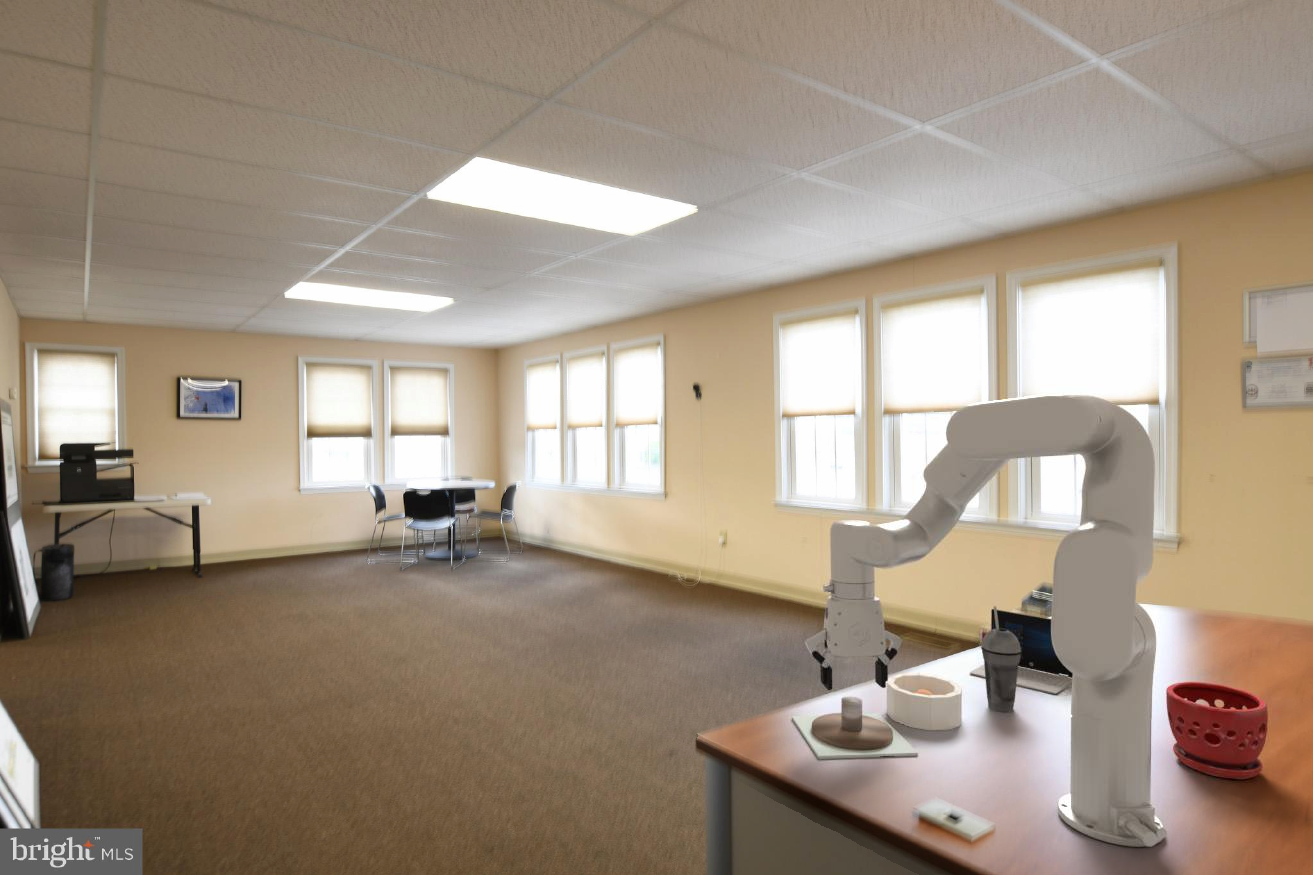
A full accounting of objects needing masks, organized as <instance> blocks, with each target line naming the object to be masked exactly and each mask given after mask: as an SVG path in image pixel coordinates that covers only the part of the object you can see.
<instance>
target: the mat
mask: <svg viewBox="0 0 1313 875" xmlns="http://www.w3.org/2000/svg"><path fill="white" fill-rule="evenodd" d="M822 715H823V714H822ZM822 715H796V716H795V715H792V716H791V719H792V721H793V723H794V724H795V726H796V727H797V728H798V730H799V731H800V733H801V734H802V736H803V737H804V739H805V741H806V742H807V744H808V745H809V747H810V748H811V750H812V751H813V753H814V754H815V755H816V757H817V759H818V760H827V759H829V760H830V759H858V758H859V759H860V758H861V759H862V758H883V757H882V756H895V757H917V756H919V752H918V751H917V750H916V749H915V748H914V747H913V746H912V745H911V744H910V743H909V742H908V741H907V740H906V739H905V738H904V737H903V736H902V735H901V734H900V733H899V732H898V731H897V730H896V729H895V728H894V727H893V726H892V725H891V724H890V722H888V721H887V719H885V718H884V717H883V716H882V715H881V713H865V714H864V713H862V715H864V716H869V717H872V718H875V719H878V720H880V721H882V722H884V723H886V724H887V725H888V726H889V727H890V728H891V729H892V731H893V741H892V743H891V744H890V745H888V746H886V747H884V748H881V749H876V750H866V751H859V750H848V749H842V748H838V747H834V746H831V745H828V744H826V743H824V742H822V741H820V740H819V739H817V738H816V737H815V736H814V735H813V733H812V722H813V720H814V719H816V718H817V717H820V716H822ZM880 756H881V757H880Z"/></svg>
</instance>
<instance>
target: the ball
mask: <svg viewBox="0 0 1313 875" xmlns="http://www.w3.org/2000/svg"><path fill="white" fill-rule="evenodd" d="M915 693H917V694H924V695H932V693H931V692H929V691H927V690H918V691H917V692H915Z"/></svg>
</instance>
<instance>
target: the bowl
mask: <svg viewBox="0 0 1313 875" xmlns="http://www.w3.org/2000/svg"><path fill="white" fill-rule="evenodd" d="M918 690H927V691H929V692H931V693H932V695H924V694H917V693H915V692H917V691H918ZM962 692H963V687H962V686H961V685H959V684H958V683H956V682H955V681H953V680H951V679H948V678H944V677H942V676H938V675H934V674H933V675H932V674H925V673H917V672H916V673H915V672H913V673H911V672H910V673H898V674H895V675H891V676H888V681H886V715H887V716H888V717H890V719H892V721H894V720H895V721H894V722H896V723H898V722H899V724H901V725H903V724H904V725H903V726H906V727H908V726H909V728H913V729H914V728H915V729H920V730H925V731H950V730H953V729H956V728H959V727H960V726H961V725H962V718H963V717H962V714H963V712H962V711H963V708H962V707H963V703H962V702H963V701H962V700H963V698H962V697H963V693H962Z"/></svg>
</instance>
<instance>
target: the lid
mask: <svg viewBox="0 0 1313 875" xmlns="http://www.w3.org/2000/svg"><path fill="white" fill-rule="evenodd" d="M840 707H841V711H840V712H833V713H828V714H827V713H826V714H822V716H820V715H819V716H820V717H817V718H816V719H814V720H813V722H812V733H813V735H814V736H815V737H816V738H817V739H819V740H820V741H822V742H824V743H826V744H828V745H831V746H834V747H838V748H842V749H848V750H859V751H866V750H876V749H881V748H884V747H886V746H888V745H890V744H891V743H892V741H893V731H892V729H891V728H890V727H889V726H888V725H887V724H886V723H884V722H882V721H880V720H878V719H875V718H872V717H869V716H864V715H862V714H863V699H861V698H859V697H856V696H843V697H841V706H840Z"/></svg>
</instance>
